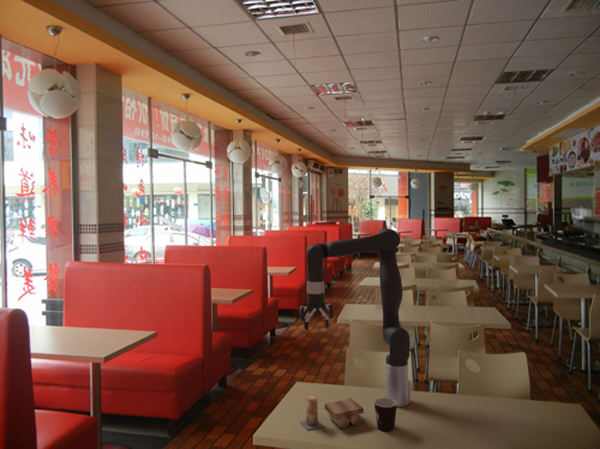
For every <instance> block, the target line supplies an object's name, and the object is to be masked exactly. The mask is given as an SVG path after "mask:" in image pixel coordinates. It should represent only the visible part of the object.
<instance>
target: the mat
mask: <svg viewBox="0 0 600 449" xmlns="http://www.w3.org/2000/svg"><path fill="white" fill-rule="evenodd" d="M300 424H301V425H302V427H304V429H305V430H306V431H312V430H317V429H320V428H324V427H325V425H324V424H323V423H322V422H320V420H319V419H318V424H317V425H316V426H308V425H307V424H306V420H304V421H303V420H302V421H300Z"/></svg>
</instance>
